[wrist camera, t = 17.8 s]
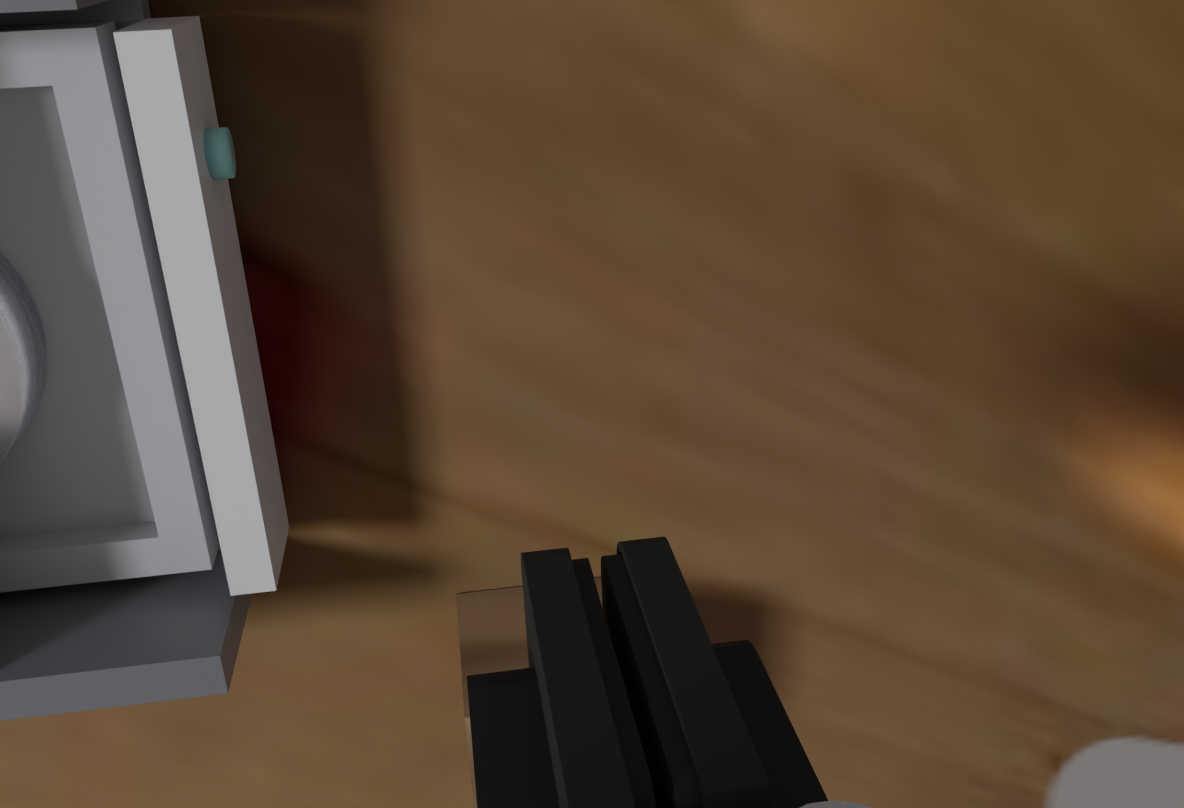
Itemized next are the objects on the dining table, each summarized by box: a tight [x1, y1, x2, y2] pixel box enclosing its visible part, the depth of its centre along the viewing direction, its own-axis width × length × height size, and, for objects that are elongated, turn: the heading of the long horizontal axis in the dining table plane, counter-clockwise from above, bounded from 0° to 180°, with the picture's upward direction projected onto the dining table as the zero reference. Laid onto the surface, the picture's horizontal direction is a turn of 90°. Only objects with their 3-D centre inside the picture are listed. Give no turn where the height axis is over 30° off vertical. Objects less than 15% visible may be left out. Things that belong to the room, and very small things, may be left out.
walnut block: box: [457, 577, 602, 808], centre depth 28 cm, size 4×4×5 cm
